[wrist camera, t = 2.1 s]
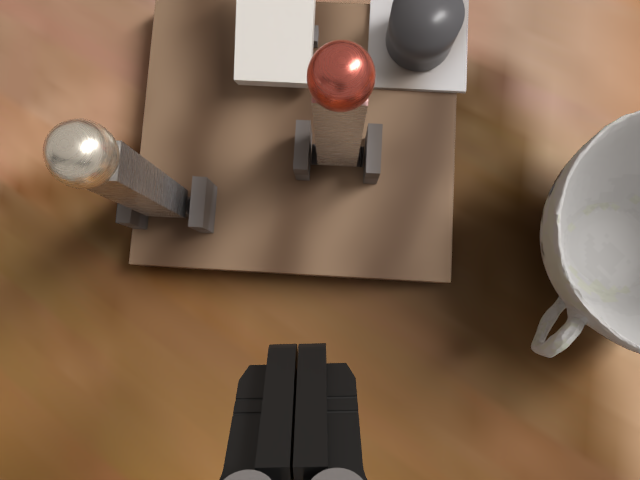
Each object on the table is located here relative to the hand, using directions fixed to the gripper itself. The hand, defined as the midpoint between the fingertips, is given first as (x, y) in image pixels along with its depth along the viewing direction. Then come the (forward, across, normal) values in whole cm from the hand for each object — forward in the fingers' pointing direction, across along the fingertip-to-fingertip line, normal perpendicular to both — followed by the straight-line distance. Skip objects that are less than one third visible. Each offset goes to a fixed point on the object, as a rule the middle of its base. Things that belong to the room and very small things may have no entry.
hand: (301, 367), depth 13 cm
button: (+23, +7, +4) cm, 24 cm away
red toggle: (+18, +2, -1) cm, 18 cm away
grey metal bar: (+16, -8, -4) cm, 19 cm away
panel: (+21, -1, -2) cm, 21 cm away
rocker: (+22, -2, +5) cm, 23 cm away
